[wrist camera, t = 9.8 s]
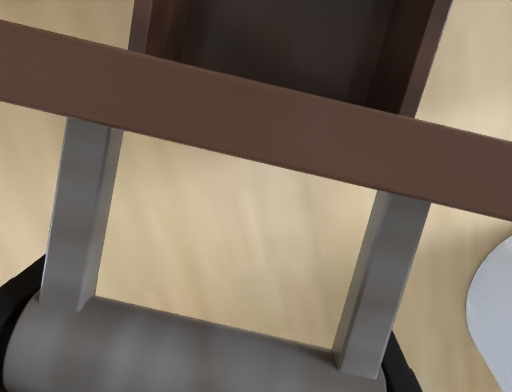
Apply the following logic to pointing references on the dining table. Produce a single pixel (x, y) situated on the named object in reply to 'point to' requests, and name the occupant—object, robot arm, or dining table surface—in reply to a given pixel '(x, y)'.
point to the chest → (303, 44)
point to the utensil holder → (493, 312)
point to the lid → (239, 145)
